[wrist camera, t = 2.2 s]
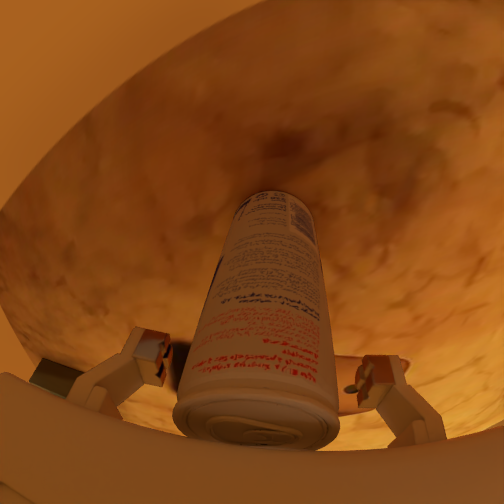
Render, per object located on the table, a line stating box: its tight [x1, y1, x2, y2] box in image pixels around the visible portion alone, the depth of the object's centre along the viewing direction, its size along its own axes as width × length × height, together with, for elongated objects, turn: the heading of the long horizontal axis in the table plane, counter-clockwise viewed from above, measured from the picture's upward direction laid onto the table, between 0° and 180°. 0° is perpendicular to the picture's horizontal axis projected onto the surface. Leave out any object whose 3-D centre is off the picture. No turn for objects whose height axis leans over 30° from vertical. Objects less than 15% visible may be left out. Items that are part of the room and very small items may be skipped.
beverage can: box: [172, 191, 340, 451], centre depth 15 cm, size 6×6×15 cm
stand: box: [29, 358, 84, 399], centre depth 35 cm, size 14×9×11 cm, turn 176°
